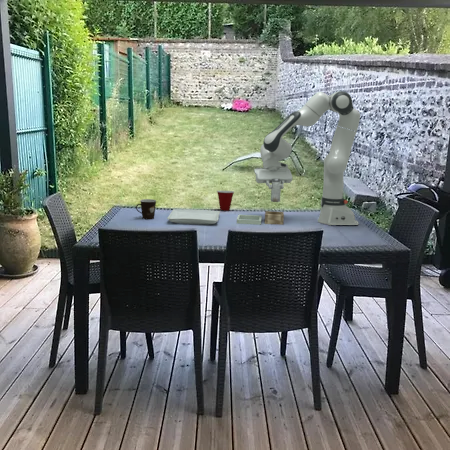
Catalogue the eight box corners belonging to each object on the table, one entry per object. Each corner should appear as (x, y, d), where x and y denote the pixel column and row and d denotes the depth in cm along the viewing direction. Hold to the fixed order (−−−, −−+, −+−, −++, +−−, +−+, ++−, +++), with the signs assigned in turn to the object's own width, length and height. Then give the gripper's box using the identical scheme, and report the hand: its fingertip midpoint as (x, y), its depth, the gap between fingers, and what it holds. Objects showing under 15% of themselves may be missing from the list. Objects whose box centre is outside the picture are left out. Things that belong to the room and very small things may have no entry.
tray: (261, 221, 284) (261, 215, 284) (260, 226, 272) (261, 220, 271) (238, 220, 285) (238, 214, 285) (236, 225, 273) (236, 219, 272)
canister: (280, 200, 278) (281, 178, 276) (280, 202, 273) (281, 180, 271) (270, 200, 279) (271, 178, 276) (270, 201, 274) (271, 179, 271)
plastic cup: (234, 208, 317) (235, 189, 315) (232, 212, 307) (233, 192, 304) (217, 207, 318) (217, 188, 316) (215, 211, 308) (215, 191, 305)
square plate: (217, 227, 269) (218, 219, 268) (166, 225, 270) (166, 217, 269) (220, 216, 296) (220, 209, 295) (173, 214, 296) (173, 208, 295)
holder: (282, 222, 283) (283, 211, 282) (283, 226, 274) (283, 215, 272) (264, 221, 284) (265, 210, 283) (264, 225, 275) (265, 214, 273)
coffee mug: (154, 216, 288) (154, 199, 285) (157, 219, 280) (157, 201, 278) (133, 217, 284) (133, 199, 282) (136, 220, 276) (136, 202, 274)
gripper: (254, 164, 276) (259, 185, 269) (290, 164, 280) (295, 184, 273) (252, 171, 281) (256, 192, 274) (287, 171, 286) (292, 191, 279)
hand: (276, 188), depth 274 cm, fingers closed on canister, 5 cm apart
